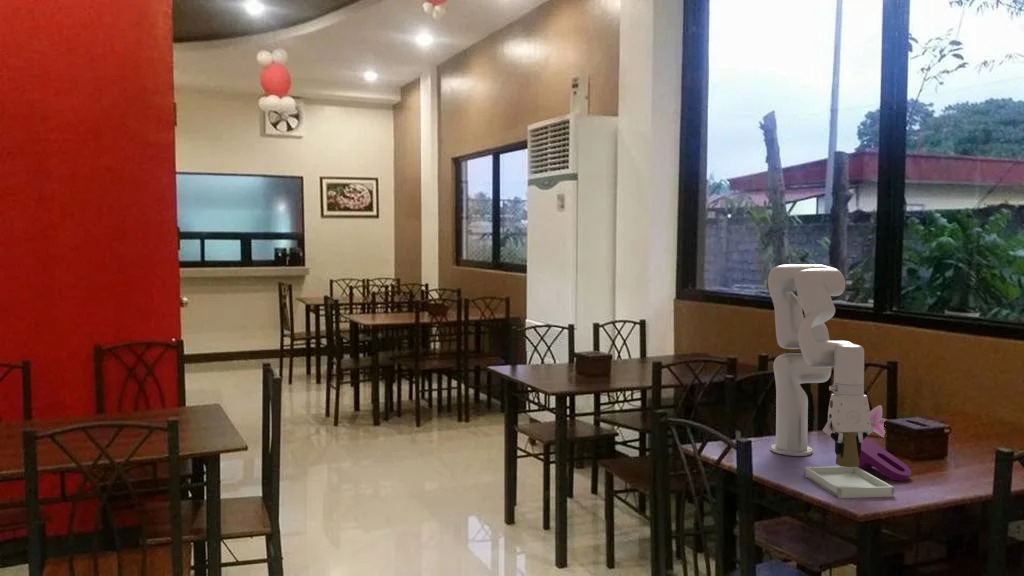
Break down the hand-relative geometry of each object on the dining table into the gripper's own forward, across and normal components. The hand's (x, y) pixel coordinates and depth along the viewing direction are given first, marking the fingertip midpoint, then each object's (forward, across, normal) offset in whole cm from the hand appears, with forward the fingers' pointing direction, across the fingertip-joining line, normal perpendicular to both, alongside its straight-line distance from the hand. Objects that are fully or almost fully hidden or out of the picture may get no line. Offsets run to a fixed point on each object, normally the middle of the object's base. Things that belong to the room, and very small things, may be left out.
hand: (847, 455), depth 208 cm
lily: (+8, +37, +56) cm, 68 cm away
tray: (+8, 0, 0) cm, 8 cm away
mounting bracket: (+9, +14, +11) cm, 20 cm away
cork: (+2, 0, 0) cm, 2 cm away
